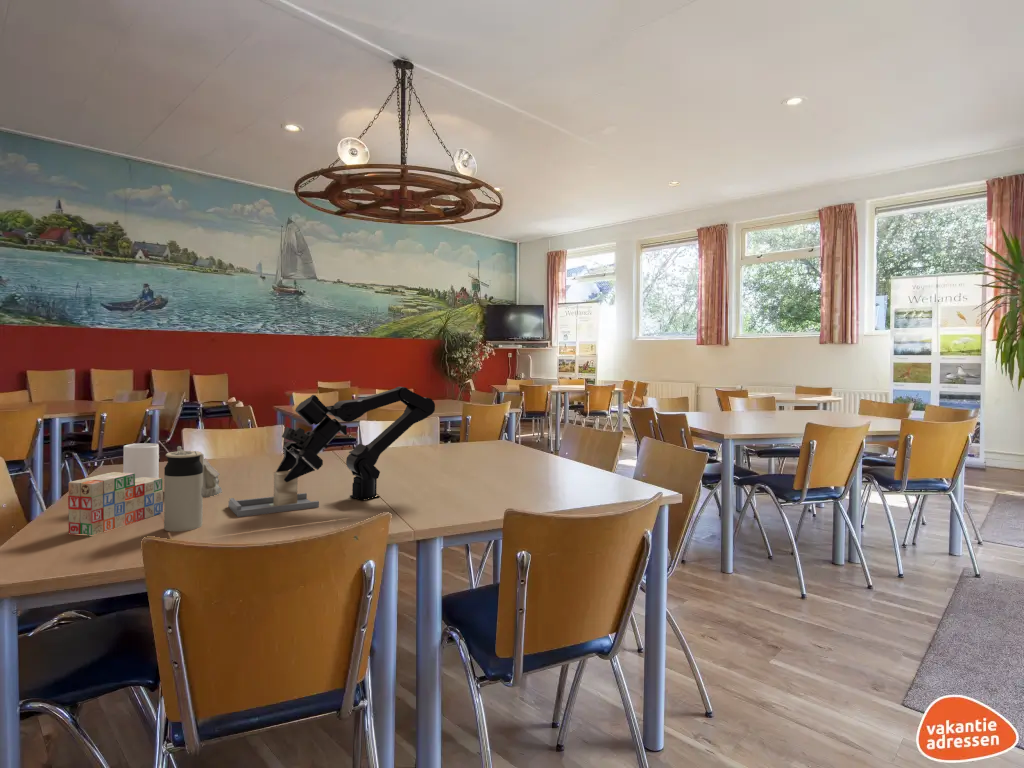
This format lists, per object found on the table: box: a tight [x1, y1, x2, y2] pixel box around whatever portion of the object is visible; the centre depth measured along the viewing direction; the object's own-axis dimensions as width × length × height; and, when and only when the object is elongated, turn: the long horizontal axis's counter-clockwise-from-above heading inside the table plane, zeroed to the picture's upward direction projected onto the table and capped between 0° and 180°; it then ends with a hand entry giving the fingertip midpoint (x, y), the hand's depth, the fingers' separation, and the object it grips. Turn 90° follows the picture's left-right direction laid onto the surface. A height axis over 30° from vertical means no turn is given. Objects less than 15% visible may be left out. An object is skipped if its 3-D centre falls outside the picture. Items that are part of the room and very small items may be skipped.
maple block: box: [273, 470, 299, 506], centre depth 162 cm, size 5×5×9 cm
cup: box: [122, 442, 160, 479], centre depth 162 cm, size 8×8×16 cm
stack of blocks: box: [67, 471, 164, 535], centre depth 142 cm, size 21×6×12 cm, turn 170°
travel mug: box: [163, 450, 204, 532], centre depth 140 cm, size 8×8×18 cm
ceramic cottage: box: [176, 445, 223, 498], centre depth 177 cm, size 16×16×15 cm
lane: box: [228, 492, 320, 518], centre depth 160 cm, size 21×12×3 cm, turn 126°
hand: (280, 478), depth 161 cm, fingers open, 9 cm apart
